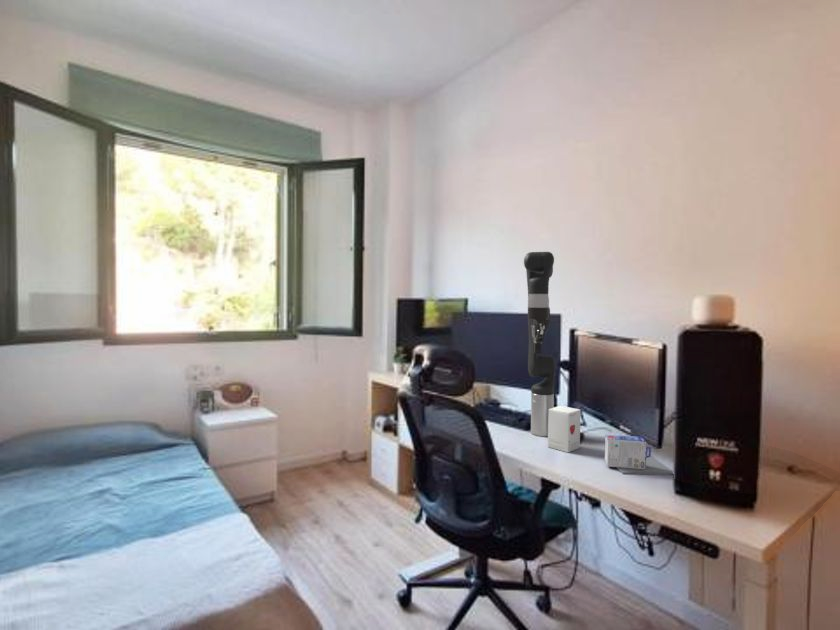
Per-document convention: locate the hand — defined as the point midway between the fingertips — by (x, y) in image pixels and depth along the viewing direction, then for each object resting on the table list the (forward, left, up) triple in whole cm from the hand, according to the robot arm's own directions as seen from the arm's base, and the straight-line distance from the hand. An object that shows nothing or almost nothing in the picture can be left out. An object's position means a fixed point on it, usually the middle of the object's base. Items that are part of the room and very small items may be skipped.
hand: (537, 353), depth 168 cm
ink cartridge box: (+13, +20, -32) cm, 40 cm away
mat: (+12, +32, -37) cm, 50 cm away
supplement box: (-6, +12, -37) cm, 40 cm away
